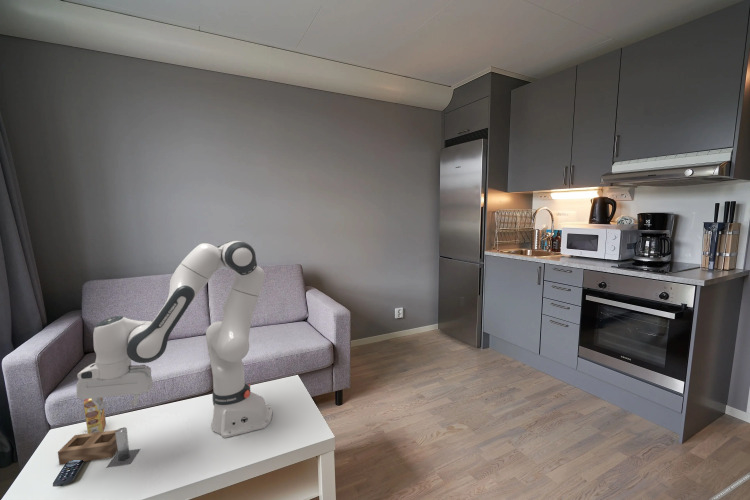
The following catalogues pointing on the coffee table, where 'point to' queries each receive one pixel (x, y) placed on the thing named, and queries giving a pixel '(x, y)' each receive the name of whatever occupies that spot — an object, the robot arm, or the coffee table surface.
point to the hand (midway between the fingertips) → (118, 407)
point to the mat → (128, 461)
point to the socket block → (89, 447)
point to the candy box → (94, 417)
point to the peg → (122, 444)
